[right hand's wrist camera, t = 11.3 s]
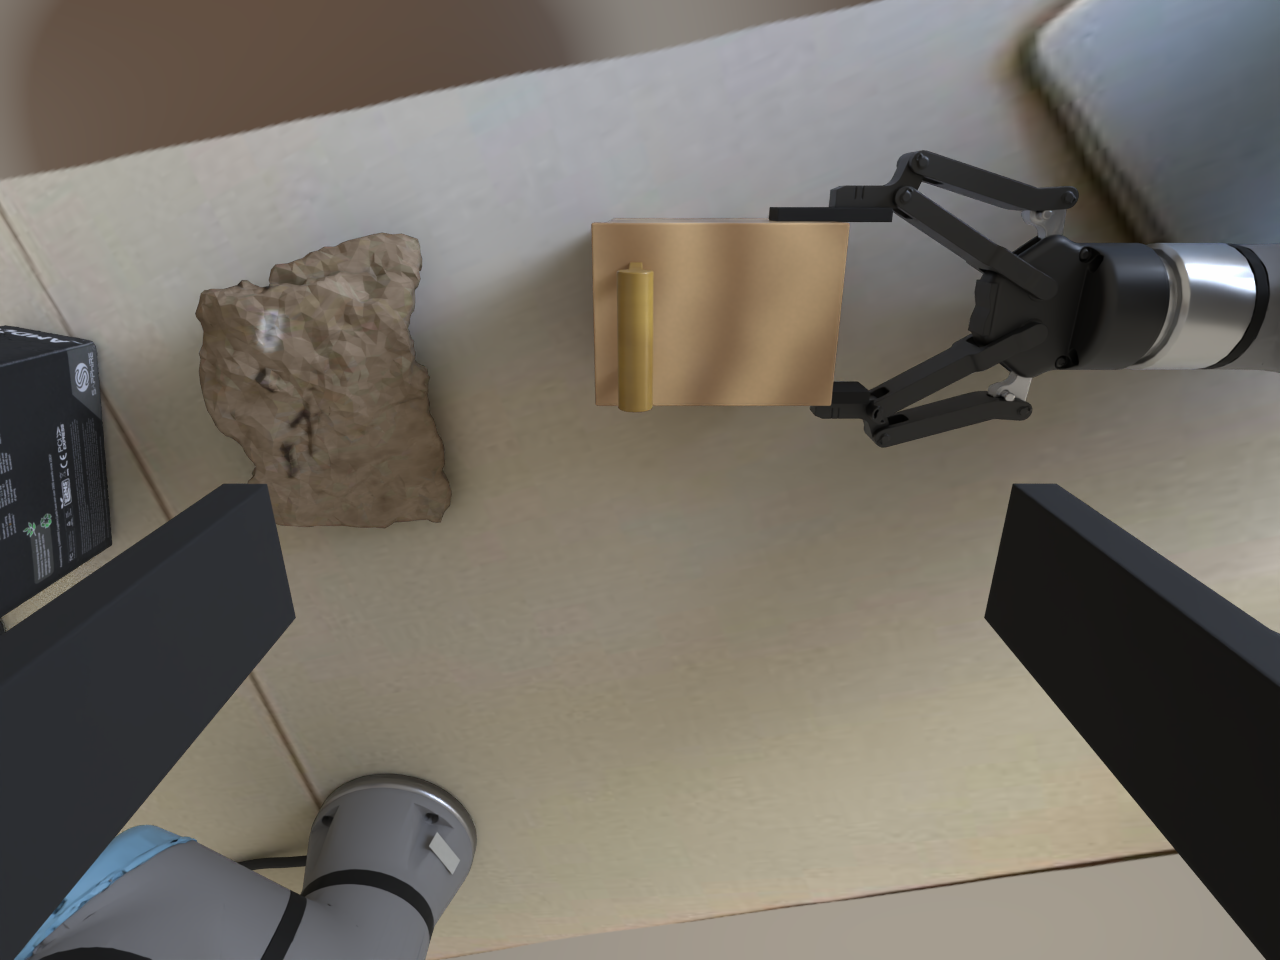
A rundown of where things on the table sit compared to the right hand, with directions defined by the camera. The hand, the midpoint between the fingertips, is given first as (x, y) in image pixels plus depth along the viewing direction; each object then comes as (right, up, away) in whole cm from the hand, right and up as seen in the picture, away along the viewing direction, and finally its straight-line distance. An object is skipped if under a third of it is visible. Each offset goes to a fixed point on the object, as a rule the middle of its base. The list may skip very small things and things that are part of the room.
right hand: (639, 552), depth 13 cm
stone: (-21, +8, +39) cm, 45 cm away
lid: (+4, +11, +27) cm, 29 cm away
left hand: (+8, +12, +30) cm, 33 cm away
